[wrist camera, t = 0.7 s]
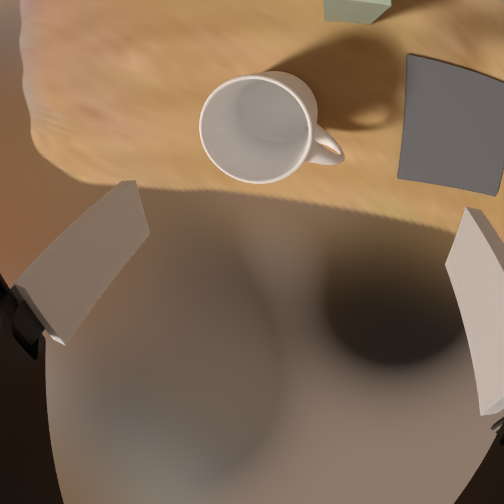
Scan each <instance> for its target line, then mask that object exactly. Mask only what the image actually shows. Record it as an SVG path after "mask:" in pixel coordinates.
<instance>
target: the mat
mask: <svg viewBox="0 0 504 504" xmlns="http://www.w3.org/2000/svg"><path fill="white" fill-rule="evenodd" d="M503 168H504V83H502V82H500V81H497V80H495V79H492V78H490V77H487V76H484V75H481V74H479V73H476V72H473V71H470V70H467V69H463V68H460V67H457V66H453V65H450V64H446V63H443V62H439V61H435V60H431V59H427V58H422V57H418V56H413V55H408V54H407V55H406V91H405V109H404V123H403V134H402V143H401V152H400V160H399V168H398V175H397V177H398V179H403V180H410V181H417V182H423V183H430V184H436V185H442V186H447V187H453V188H458V189H463V190H468V191H473V192H478V193H483V194H487V195H492V196H496V195H497V191H498V188H499V184H500V180H501V176H502V172H503Z"/></svg>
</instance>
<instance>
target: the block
mask: <svg viewBox="0 0 504 504" xmlns="http://www.w3.org/2000/svg"><path fill="white" fill-rule="evenodd" d="M323 7H324V17H325V21H333V22H347V23H358V24H367V25H370V24H371V23H372V22H373V21H375V20H376V19H377V18H378V17H379V16H380V15H381V14H383V13H384V12H385V11H386V10H387V9H388V8H389V7H391V0H323Z"/></svg>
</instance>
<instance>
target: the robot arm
mask: <svg viewBox="0 0 504 504" xmlns="http://www.w3.org/2000/svg"><path fill="white" fill-rule="evenodd" d="M149 235H150V231H149V228H148V225H147V221H146V218H145V214H144V211H143V207H142V203H141V200H140V196H139V192H138V188H137V184H136V180H135V181H121V182H120V183H119V184H117V185H116V186H115V187H114V188H113V189H111V190H110V191H109V192H108V193H106V194H105V195H104V196H103V197H102V198H100V199H99V200H98V201H97V202H96V203H94V204H93V205H92V206H91V207H90V208H89V209H88V210H86V211H85V212H84V213H83V214H82V215H81V216H80V217H79V218H77V219H76V220H75V221H74V222H73V223H72V224H71V225H70V226H69V227H68V228H67V229H65V231H63V232H62V233H61V234H60V235H59V236H58V237H57V238H56V239H55V240H54V241H53V242H52V243H51V244H50V245H49V246H48V247H47V248H46V249H45V250H44V251H43V252H42V253H41V254H40V255H39V256H38V257H37V258H36V259H35V260H34V261H33V262H32V264H30V266H29V267H28V268H27V269H26V270H25V271H24V272H23V273H22V274H21V275H20V277H19V278H18V279H17V280H16V281H15V282H14V286H13V287H12V288H11V289H10V288H9V287H8V285H7V284H6V282H5V281H4V279H3V277H2V276H1V274H0V504H64V503H63V499H62V496H61V492H60V488H59V484H58V479H57V474H56V470H55V464H54V459H53V453H52V447H51V440H50V433H49V425H48V414H47V401H46V380H45V348H46V347H45V346H46V345H45V344H46V341H45V337H44V336H43V334H42V332H43V331H44V329H46V331H47V332H48V333H49V335H50V336H51V337H52V338H53V339H54V340H56V341H58V342H60V343H61V344H64V345H67V344H68V342H69V341H70V339H71V338H72V336H73V335H74V333H75V332H76V330H77V329H78V327H79V326H80V325H81V323H82V322H83V320H84V319H85V317H86V316H87V314H88V313H89V312H90V310H91V309H92V308H93V306H94V305H95V303H96V302H97V301H98V299H99V298H100V296H101V295H102V294H103V293H104V291H105V290H106V289H107V287H108V286H109V285H110V283H111V282H112V281H113V279H114V278H115V277H116V275H117V274H118V273H119V272H120V270H121V269H122V268H123V267H124V265H125V264H126V263H127V262H128V260H129V259H130V258H131V257H132V255H133V254H134V253H135V252H136V250H137V249H138V248H139V247H140V246H141V244H142V243H143V242H144V241H145V239H146V238H147V237H148V236H149ZM445 266H446V269H447V271H448V274H449V277H450V280H451V283H452V286H453V289H454V292H455V295H456V298H457V301H458V305H459V308H460V312H461V315H462V319H463V323H464V327H465V330H466V334H467V338H468V343H469V347H470V351H471V356H472V362H473V367H474V372H475V378H476V384H477V391H478V398H479V406H480V415H488V414H494V413H499V412H500V411H501V410H503V409H504V244H503V242H502V241H501V239H500V238H499V236H498V234H497V233H496V231H495V230H494V228H493V227H492V225H491V224H490V222H489V221H488V219H487V218H486V216H485V215H484V214H483V212H482V211H481V210H479V209H474V208H469V207H465V211H464V214H463V217H462V220H461V223H460V226H459V229H458V232H457V235H456V237H455V240H454V243H453V246H452V248H451V251H450V253H449V256H448V258H447V261H446V264H445ZM501 424H502V425H501ZM500 425H501V427H500V429H499V430H498V431H496V433H497V435H496V438H495V439H494V441H493V443H492V445H491V447H490V449H489V450H488V452H487V454H486V456H485V457H484V459H483V461H482V463H481V464H480V466H479V468H478V469H477V471H476V472H475V474H474V475H473V477H472V479H471V480H470V482H469V483H468V485H467V486H466V488H465V489H464V490H463V492H462V493H461V495H460V496H459V497H458V499H457V500H456V501H455V503H454V504H504V417H503V418H502V419H500V420H499V421H497V422H496V423H495V424H494V425H493V426H492V427H491V429H492V430H494V429H495V428H496V427H498V426H500Z"/></svg>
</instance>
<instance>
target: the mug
mask: <svg viewBox="0 0 504 504" xmlns="http://www.w3.org/2000/svg"><path fill="white" fill-rule="evenodd" d="M317 115H318V108H317V102H316V99H315V97H314V94H313V92H312V91H311V89H310V88H309V87H308V85H307V84H305V83H304V82H303V81H302V80H301V79H299V78H298V77H296V76H294V75H292V74H289V73H286V72H281V71H268V72H261V73H255V74H250V75H244V76H239V77H236V78H233V79H230V80H228V81H226V82H224V83H223V84H221V85H220V86H219V87H217V88H216V89H215V90H214V91H213V92H212V93H211V95H210V96H209V97H208V99H207V100H206V102H205V104H204V106H203V108H202V111H201V115H200V121H199V131H200V137H201V141H202V144H203V147H204V149H205V151H206V153H207V155H208V156H209V158H210V159H211V161H212V162H213V163H214V164H215V165H216V166H217V167H218V168H219V169H220V170H222V171H223V172H224V173H226V174H227V175H229V176H231V177H233V178H235V179H237V180H240V181H244V182H248V183H256V184H263V183H271V182H275V181H278V180H281V179H283V178H286V177H287V176H289V175H291V174H292V173H293V172H295V171H296V170H297V169H298V168H299V167H300V166H301V165H302V164H303V162H304V161H307V162H312V163H318V164H324V165H336V164H340V163H341V162H343V160H344V158H345V156H344V153H343V151H342V149H341V147H340V145H339V144H338V143H337V142H336V141H335V139H334V138H333V137H332V136H331V135H330V134H328V133H327V132H326V131H325V130H324V129H323V128H322V127H320V126H319V125H318V124H317ZM319 143H321V144H324V145H326V146H328V147H330V148H332V149H334V150H336V151H337V152H338V153H339V154H340V155H338V154H335V153H333V152H331V151H330V150H328V149H326V148H325V147H323V146H322V145H320V144H319Z"/></svg>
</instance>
